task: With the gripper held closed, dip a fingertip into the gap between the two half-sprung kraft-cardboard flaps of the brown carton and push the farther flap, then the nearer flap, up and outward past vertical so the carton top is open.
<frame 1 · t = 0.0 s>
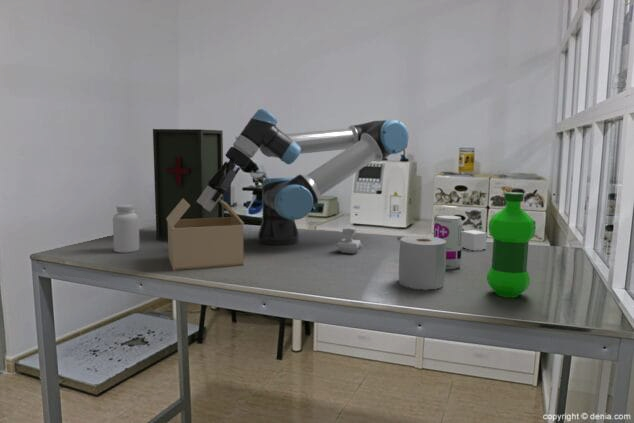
hand: (202, 206, 159), 15 cm above the table, tool tilted 35°, fingers open, 13 cm apart
carton: (205, 261, 152), on the table
flap 2: (229, 210, 153), point 15 cm above the table, hinge at 50.5°, touching gripper
pill bottle: (127, 251, 166), on the table
flap 1: (177, 212, 147), point 15 cm above the table, hinge at 50.0°
first aid box: (191, 237, 190), on the table
stamp: (349, 253, 167), on the table
plastic bottle: (507, 294, 123), on the table
toilet paper roll: (421, 284, 132), on the table
supplement can: (446, 267, 150), on the table
adhesive note: (473, 249, 175), on the table
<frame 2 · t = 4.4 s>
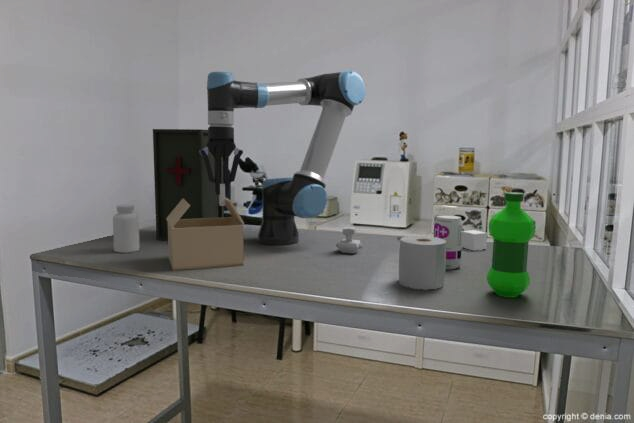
hand: (222, 205, 152), 17 cm above the table, tool pointing down, fingers closed
flap 2: (231, 209, 153), point 16 cm above the table, hinge at 60.2°, touching gripper
everything else where it was.
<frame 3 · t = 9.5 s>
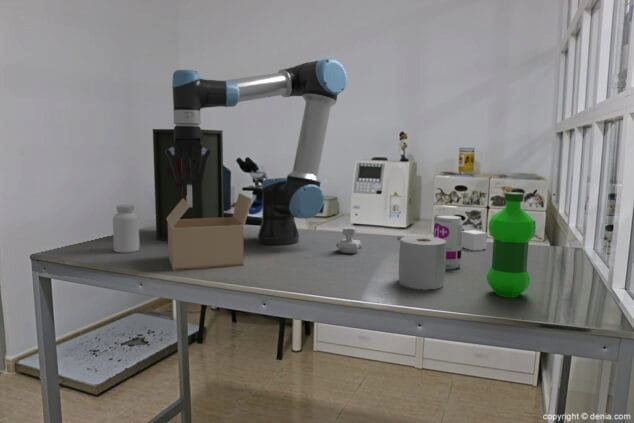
hand: (189, 206, 148), 17 cm above the table, tool pointing down, fingers closed
flap 2: (241, 208, 154), point 16 cm above the table, hinge at 106.0°
flap 1: (177, 212, 147), point 15 cm above the table, hinge at 50.2°, touching gripper
everything else where it was.
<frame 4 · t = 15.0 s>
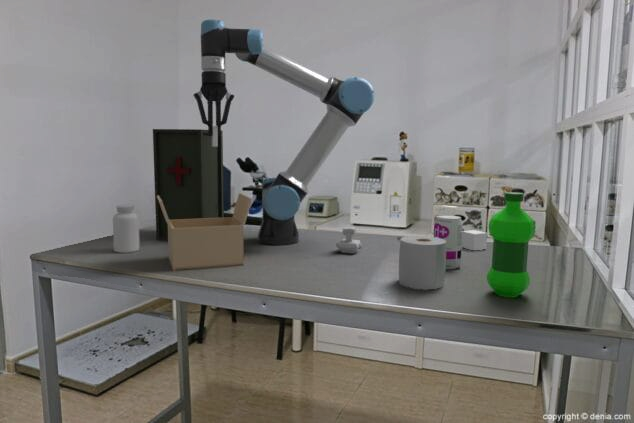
hand: (214, 146, 163), 34 cm above the table, tool pointing down, fingers closed
flap 1: (164, 211, 146), point 16 cm above the table, hinge at 107.4°
everything else where it was.
at the end: flap 2 at +106° (first picture: +50°); flap 1 at +107° (first picture: +50°) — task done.
